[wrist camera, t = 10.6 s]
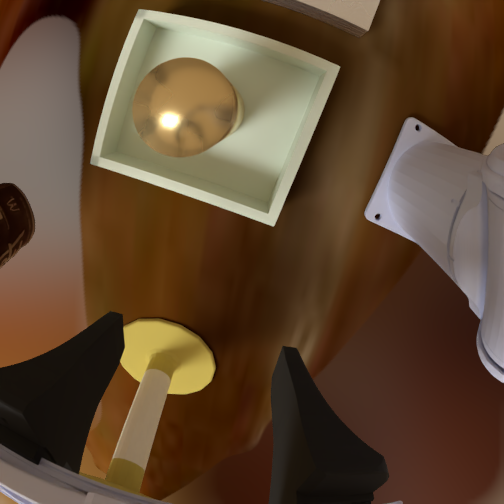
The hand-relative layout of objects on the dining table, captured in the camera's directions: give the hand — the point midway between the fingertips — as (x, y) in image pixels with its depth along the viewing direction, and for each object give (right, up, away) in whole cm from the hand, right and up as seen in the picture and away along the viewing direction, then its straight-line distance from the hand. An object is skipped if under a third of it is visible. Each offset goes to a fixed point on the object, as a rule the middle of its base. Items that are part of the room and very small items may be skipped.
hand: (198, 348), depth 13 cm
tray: (0, +13, +5) cm, 14 cm away
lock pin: (0, +13, +5) cm, 14 cm away
